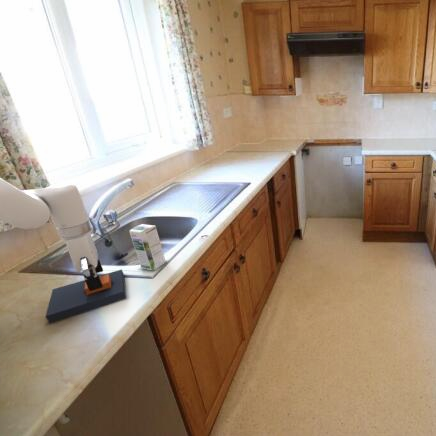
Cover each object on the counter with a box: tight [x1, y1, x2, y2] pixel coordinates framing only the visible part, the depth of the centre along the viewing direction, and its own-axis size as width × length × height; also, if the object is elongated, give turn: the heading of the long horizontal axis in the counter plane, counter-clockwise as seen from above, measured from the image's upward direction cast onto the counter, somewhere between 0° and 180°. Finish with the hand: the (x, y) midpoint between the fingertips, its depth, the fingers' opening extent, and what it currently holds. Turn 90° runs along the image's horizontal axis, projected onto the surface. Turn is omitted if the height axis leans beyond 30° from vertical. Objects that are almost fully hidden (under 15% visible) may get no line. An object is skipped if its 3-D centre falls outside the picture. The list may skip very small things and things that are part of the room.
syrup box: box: [128, 223, 167, 271], centre depth 107 cm, size 6×6×14 cm
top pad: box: [84, 273, 111, 295], centre depth 96 cm, size 6×5×4 cm
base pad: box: [45, 268, 127, 324], centre depth 95 cm, size 18×14×2 cm
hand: (96, 280), depth 95 cm, fingers open, 9 cm apart
